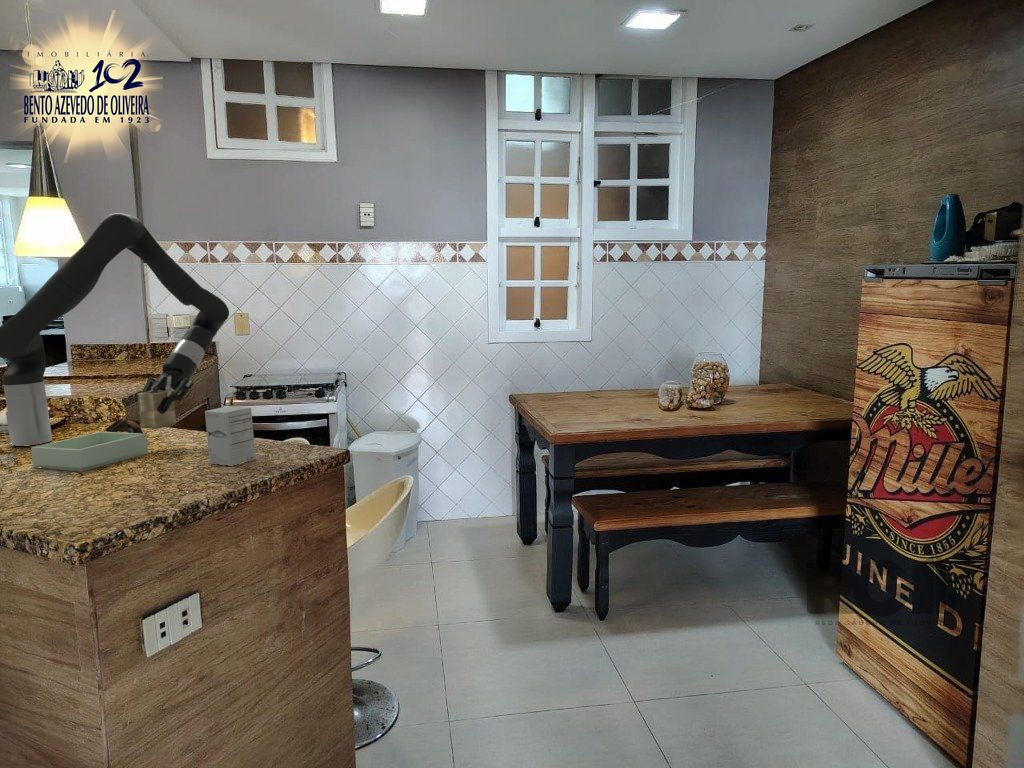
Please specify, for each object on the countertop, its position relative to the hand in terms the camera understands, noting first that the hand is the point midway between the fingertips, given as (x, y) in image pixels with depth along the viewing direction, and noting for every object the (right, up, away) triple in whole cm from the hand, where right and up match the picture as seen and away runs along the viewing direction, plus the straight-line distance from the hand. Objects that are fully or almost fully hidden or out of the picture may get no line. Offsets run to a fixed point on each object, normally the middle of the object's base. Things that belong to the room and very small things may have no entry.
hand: (151, 411), depth 176 cm
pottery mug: (-12, -9, +10) cm, 18 cm away
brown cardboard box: (+1, -4, +2) cm, 5 cm away
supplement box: (+28, -11, -17) cm, 35 cm away
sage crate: (-10, -12, -9) cm, 18 cm away
